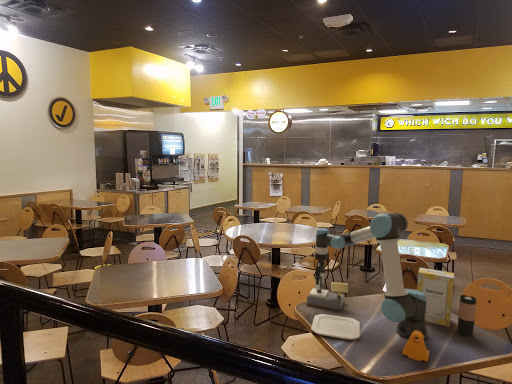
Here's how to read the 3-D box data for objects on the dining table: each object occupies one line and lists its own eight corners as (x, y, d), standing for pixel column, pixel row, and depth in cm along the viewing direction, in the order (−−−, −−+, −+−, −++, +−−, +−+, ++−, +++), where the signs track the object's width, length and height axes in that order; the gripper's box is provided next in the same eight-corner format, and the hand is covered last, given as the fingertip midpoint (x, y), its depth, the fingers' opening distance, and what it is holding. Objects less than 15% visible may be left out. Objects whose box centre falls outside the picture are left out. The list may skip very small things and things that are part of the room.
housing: (340, 310, 222) (341, 302, 222) (306, 304, 229) (307, 296, 229) (343, 302, 235) (344, 294, 235) (311, 296, 242) (312, 289, 242)
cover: (325, 298, 226) (326, 280, 225) (309, 295, 230) (310, 277, 229) (328, 292, 237) (329, 275, 236) (313, 290, 240) (314, 272, 239)
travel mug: (464, 337, 193) (468, 300, 191) (453, 330, 200) (456, 295, 198) (476, 336, 195) (480, 299, 193) (464, 329, 202) (468, 294, 201)
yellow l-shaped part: (330, 297, 228) (331, 283, 227) (329, 291, 238) (330, 278, 237) (347, 298, 227) (348, 284, 226) (345, 293, 237) (346, 279, 236)
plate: (359, 323, 206) (359, 319, 206) (359, 344, 182) (360, 339, 182) (315, 316, 213) (315, 312, 212) (309, 335, 189) (310, 331, 189)
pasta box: (414, 318, 214) (418, 272, 211) (416, 312, 223) (419, 267, 220) (449, 326, 205) (454, 278, 203) (449, 319, 215) (454, 273, 212)
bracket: (428, 356, 173) (431, 331, 172) (427, 363, 167) (429, 337, 166) (404, 349, 178) (406, 325, 177) (402, 356, 172) (404, 331, 171)
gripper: (319, 248, 244) (317, 279, 246) (311, 257, 221) (309, 291, 223) (330, 249, 241) (328, 281, 243) (323, 258, 218) (321, 293, 220)
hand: (319, 286), depth 233 cm, fingers open, 13 cm apart
